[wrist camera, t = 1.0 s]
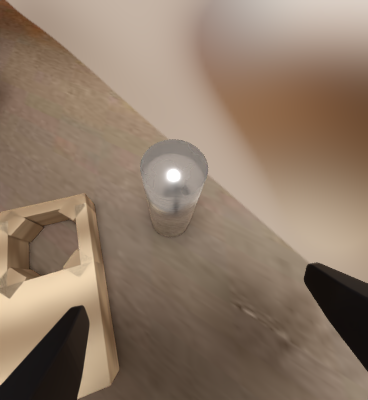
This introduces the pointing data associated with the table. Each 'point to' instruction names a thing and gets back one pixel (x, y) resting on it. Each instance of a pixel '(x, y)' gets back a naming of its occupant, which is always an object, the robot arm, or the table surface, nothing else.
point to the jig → (54, 289)
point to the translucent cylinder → (172, 184)
